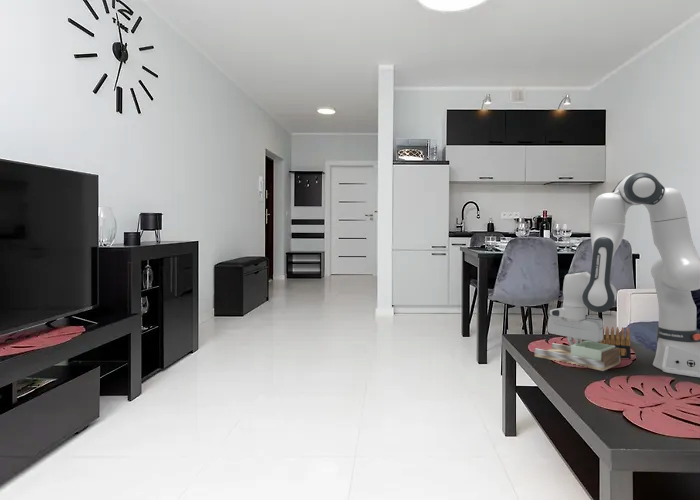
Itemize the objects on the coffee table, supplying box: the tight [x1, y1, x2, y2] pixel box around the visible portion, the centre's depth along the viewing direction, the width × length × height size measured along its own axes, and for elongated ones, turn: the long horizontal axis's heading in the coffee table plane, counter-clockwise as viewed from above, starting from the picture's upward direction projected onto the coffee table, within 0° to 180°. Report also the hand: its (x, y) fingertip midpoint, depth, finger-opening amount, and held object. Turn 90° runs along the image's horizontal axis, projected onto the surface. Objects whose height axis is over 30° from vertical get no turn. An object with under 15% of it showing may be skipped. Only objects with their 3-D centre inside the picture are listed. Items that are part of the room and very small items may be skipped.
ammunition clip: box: [600, 326, 632, 360], centre depth 184 cm, size 11×2×12 cm, turn 70°
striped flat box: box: [534, 342, 622, 372], centre depth 182 cm, size 26×14×6 cm, turn 38°
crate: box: [571, 341, 615, 361], centre depth 177 cm, size 11×11×5 cm
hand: (573, 349), depth 183 cm, fingers closed
